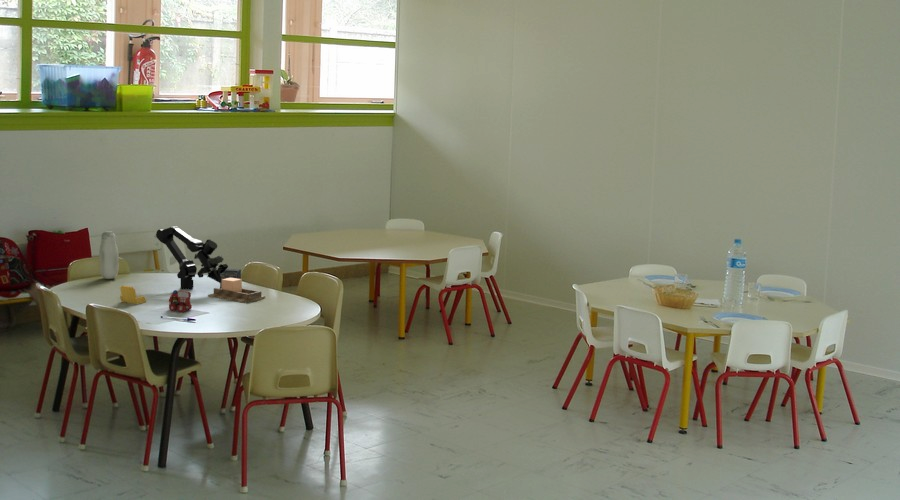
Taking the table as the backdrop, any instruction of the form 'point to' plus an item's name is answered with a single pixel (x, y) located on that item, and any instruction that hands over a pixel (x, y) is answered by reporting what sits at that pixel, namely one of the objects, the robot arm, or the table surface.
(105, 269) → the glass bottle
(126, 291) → the yellow l-shaped block
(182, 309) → the toy fire truck
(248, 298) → the tray
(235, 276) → the small box
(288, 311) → the table surface
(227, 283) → the slider block
